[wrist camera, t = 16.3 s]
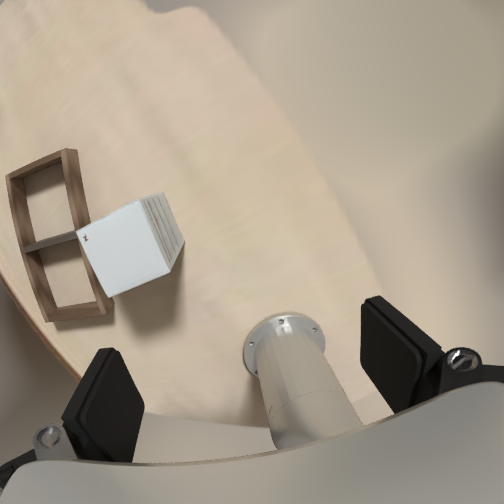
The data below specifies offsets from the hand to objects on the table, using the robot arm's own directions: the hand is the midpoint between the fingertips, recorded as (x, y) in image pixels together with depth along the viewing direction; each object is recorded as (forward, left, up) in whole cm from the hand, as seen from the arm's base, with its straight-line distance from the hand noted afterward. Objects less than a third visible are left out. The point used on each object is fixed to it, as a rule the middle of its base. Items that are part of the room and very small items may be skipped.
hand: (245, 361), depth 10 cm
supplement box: (+2, +10, -29) cm, 30 cm away
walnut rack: (+4, +24, -28) cm, 37 cm away
